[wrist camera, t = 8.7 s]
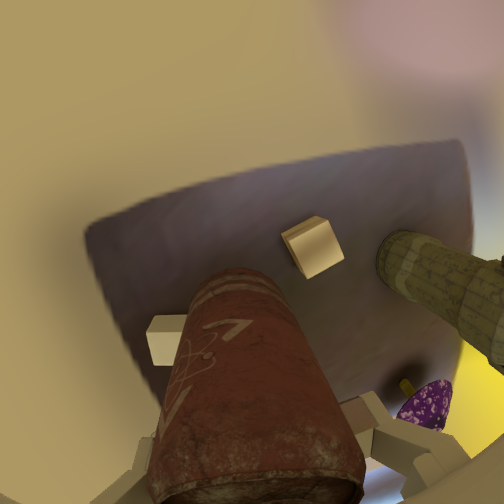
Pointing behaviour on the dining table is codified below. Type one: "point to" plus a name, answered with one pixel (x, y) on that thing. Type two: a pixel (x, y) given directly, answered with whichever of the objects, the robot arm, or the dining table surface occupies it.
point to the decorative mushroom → (426, 404)
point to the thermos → (449, 287)
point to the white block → (165, 338)
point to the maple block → (313, 246)
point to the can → (250, 407)
